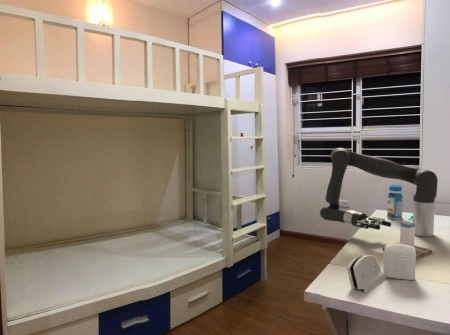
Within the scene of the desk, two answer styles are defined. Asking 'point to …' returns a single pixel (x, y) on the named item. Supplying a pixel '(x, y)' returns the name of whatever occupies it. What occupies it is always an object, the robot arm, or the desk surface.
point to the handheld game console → (411, 217)
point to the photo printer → (399, 261)
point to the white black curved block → (365, 273)
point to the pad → (419, 251)
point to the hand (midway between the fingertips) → (385, 226)
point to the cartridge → (407, 233)
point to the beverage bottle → (395, 202)
